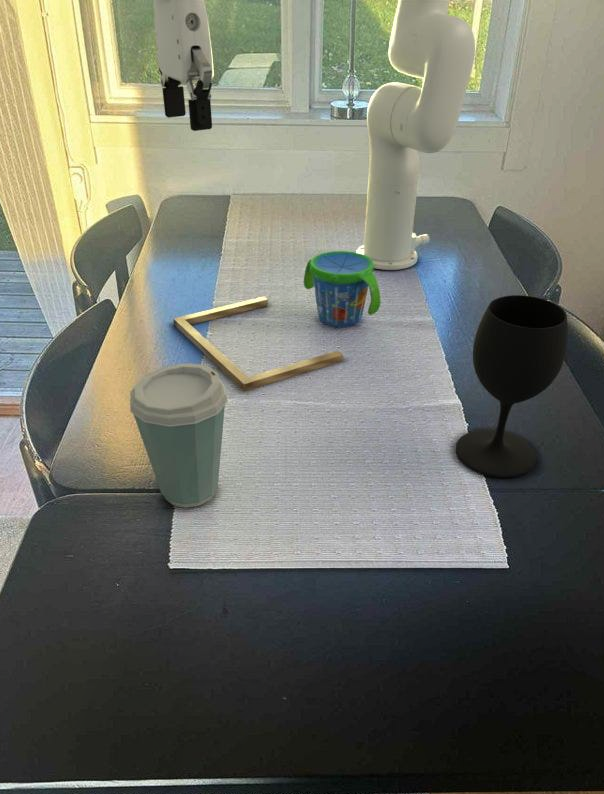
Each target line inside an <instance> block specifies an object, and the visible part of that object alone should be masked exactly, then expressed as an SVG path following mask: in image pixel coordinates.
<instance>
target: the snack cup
mask: <svg viewBox="0 0 604 794" xmlns="http://www.w3.org/2000/svg"><path fill="white" fill-rule="evenodd" d="M374 269H375V268H374V262H373V261H372V259H370V258H369V257H368V256H366V255H363V254H360V253H356V251H347V250H345V251H344V250H334V251H326V252H322V253H319V254H316V255H315V256H313V257H312V258H310V259H309V260H308V261H307V264H306V267H305V270H304V276H303V286H304V288H305V289H307V290H311V289H313V288H314V296H315V302H316V310H317V315H318V316H317V317H318V319H319V321H320V322H322V323H323V324H325V325H327V326H332V327H335V328H340V327H341V328H343V327H351V326H355V325H357V324H358V323H359V322H360V320H362V318H363V313H364V309H365V304H366V299H367V296H368V291H369V294H370V303H369V305H368V309H367V314H368V315H369V316H372V315H374V314H376V313H377V312H378V311H379V309H380V308H381V293H380V287H379V283H378V280H377V278H376V275H375V274H374Z"/></svg>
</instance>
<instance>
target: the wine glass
mask: <svg viewBox="0 0 604 794" xmlns="http://www.w3.org/2000/svg"><path fill="white" fill-rule="evenodd" d="M568 326H569V325H568V315H567V312H566V311H565V309H563V307H561V306H560V305H558V304H556V303H554V302H553V301H550V300H548V299H544V298H541V297H536V296H531V295H521V294H513V295H504V296H501V297H497V298H494V299H493V300H491V301H490V302H489V304H488V306H487V308H486V309H485V311H484V313H483V315H482V318H481V319H480V322H479V324H478V326H477V330H476V333H475V336H474V341H473V346H472V363H473V364H472V365H473V368H474V373H475V375H476V377H477V379H478V381H479V382H480V384H481V385H482V387H483V388H484V389H485V390H486V391H487V393H488V394H490V395H491V397H493V398H494V399H496V400H497V401H499V405H500V406H499V415H498V421H497V426H496V429H489V428H486V429H485V428H484V429H476V430H472V431H469V432H467V433H465V434H463V435H462V436H461V437H459V439H458V440H457V442H456V443H455V449H454V450H455V455H456V457H457V459H458V460H459V462H460V463H461V464H462V465H463V466H465V467H466V468H467V469H469V470H471V471H472V472H475V473H476V474H478V475H482V476H486V477H489V478H494V479H513V478H518V477H521V476H524V475H526V474H528V473H530V472H531V471H532V470H533V469H534V466H535V464H536V461H537V456H536V452H535V450H534V449H533V447H532V446H531V445H530V443H528V442H527V441H526V440H524V439H523V438H521V437H519V436H518V435H516V434H513V433H511V432H508V431H505V430H506V425H507V422H508V418H509V416H510V415H509V414H510V412H511V409H512V407H513V406H514V404H515V405H516V404H519V403H522V402H525V401H528V400H530V399H532V398H535V397H537V396H539V395H540V394H542V393H543V392H544V391H545V390H546V389H548V388H549V387H550V386H551V385H552V384H553V382H554V381H555V380H556V378H557V377H558V375H559V374H560V371H561V369H562V367H563V365H564V361H565V357H566V354H567V350H568V349H567V348H568V342H569V341H568V339H569V327H568Z"/></svg>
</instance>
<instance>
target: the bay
mask: <svg viewBox="0 0 604 794" xmlns="http://www.w3.org/2000/svg"><path fill="white" fill-rule="evenodd" d="M268 305H269V302H268V298H267V297H265V296H259V297H256V298H251V299H247V300H244V301H238V302H235V303H231V304H227V305H223V306H219V307H215V308H210V309H206V310H202V311H198V312H194V313H189V314H186V315H182V316H177V317H173V318H172V320H173V321H172V322H173V326H174V327H175V328H177V329H178V330H179V331H180V332H181V333H182V334H183V335H184V336H185V337H186V338H187V339H188V340H189V341H190V342H191V343H193V345H194V346H196V347H197V348H198V349H199V350H200V352H202V353H203V354H204V355H205V356H206V357H208V359H209V360H210V361H211V362H213V364H215V365H216V366H217V367H218V368H219V369H220V370H221V371H222V372H223V373H224V374H226V376H227V377H228V378H229V379H231V380H232V381H233V382H234V383H235V384H236V385H237V386H238V387H239V388H240V389H241V390H242V391H243V392H246V391H250V390H252V389H253V390H254V389H256V388H259V387H263V386H266V385H269V384H273V383H276V382H279V381H282V380H286V379H288V378H292V377H295V376H298V375H302V374H305V373H308V372H312V371H315V370H318V369H322V368H324V367H328V366H331V365H334V364H338V363H341V362H344V361H343V360H344V354H343V353H342V352H340V351H339V350H335V351H331V352H327V353H326V354H321V355H318V356H314V357H311V358H308V359H305V360H301V361H298V362H294V363H292V364H287V365H284V366H281V367H278V368H277V367H276V368H275V369H271V370H267V371H263V372H261V373H257V374H254V375H251V376H247V375H246V374H245V373H244V372H243V371H242V370H241V369H240V368H239V367H238V366H236V365H235V364H234V363H233V362H232V361H231V360H230V359H229V358H228V357H226V356H225V355H224V354H223V353H222V352H221V351H220V350H219V349H218V348H217V347H216V346H215V345H213V343H211V342H210V341H209V340H208V339H207V338H205V336H203V334H201V333H200V332H199V331H198V330H197V329H195V327H194V326H192V325H196V324H200V323H204V322H208V321H212V320H215V319H220V318H223V317H227V316H228V317H229V316H231V315H235V314H241V313H244V312H249V311H252V310H255V309H260V308H263V307H267V306H268Z"/></svg>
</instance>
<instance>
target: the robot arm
mask: <svg viewBox="0 0 604 794" xmlns="http://www.w3.org/2000/svg"><path fill="white" fill-rule="evenodd" d="M450 2H451V0H398V1H397V6H396V10H395V13H394V14H395V15H394V19H393V24H392V29H391V34H390V38H389V45H388V59H389V62H390V65H391V66H392V68H393V69H394V70H396V71H397V72H398V73H401V74H404V75H407V76H410V77H414V78H419V79H423V81H422V85H421V86H416V85H413V84H409V83H403V82H388V83H386V84H382V85H381V86H380V87H378V88H377V89H376V90H375V92H373V94H372V96H371V97H370V99H369V102H368V105H367V110H366V125H367V134H368V143H369V145H368V146H369V159H368V160H369V161H368V162H369V163H368V164H369V165H368V179H367V192H366V193H367V194H366V207H365V220H364V221H365V224H364V237H363V238H364V239H363V245H361V246H359V247H357V249H356V251H355V253H360V254H363V255H366V256H368V257H369V258H370V259H372V261H373V262H374V269H375V270H376V269H377V270H385V271H396V270H398V271H399V270H403V269H404V270H405V269H408V268H410V267H412V266H414V265H415V264H417V262H418V259H419V258H418V257H419V256H418V255H419V254H418V252H417V251H416V249H417V248H418V247H419V246H423V245H427V244H429V243H430V241H431V239H430V236H429V234H428V233H425V234H420V235H418V236H417V233H415V232H413V231H414V223H415V214H416V213H415V212H416V203H417V196H418V186H419V178H420V158H419V152H421V153H425V154H435V153H437V152H440V151H442V150H443V149H445V148H446V146H447V145H448V144H449V143H450V142H451V139H452V138H453V136H454V133H455V131H456V129H457V125H458V123H459V119H460V116H461V112H462V108H463V104H464V100H465V97H466V94H467V90H468V86H469V81H470V79H471V75H472V71H473V66H474V62H475V58H476V57H475V56H476V40H475V36H474V32H473V29H472V27H471V26H470V24H469V23H468V22H467V21H466V20H465V19H463V18H461V17H459V16H455V15H449V14H448V12H449V6H450ZM153 18H154V19H153V20H154V21H153V23H154V34H155V46H156V56H157V57H156V58H157V62H158V72H159V73H160V76H161V77H160V84H161V85H160V86H161V87H162V88H161V90H162V98H163V99H162V100H163V107H164V108H163V109H164V116H165V117H166V118H168V119H169V118H178V117H185V116H186V113H187V112H186V102H185V90H184V86H182V85H181V84H182V83H184V84H185V85H186V89H187V92H188V94H189V97H190V99H187V102H188V114H189V126H190V130H191V131H192V132H198V131H206V130H211V129H212V128H213V120H212V119H213V117H212V104H211V99H212V92H211V90H212V86H213V83H212V80H213V78H214V75H215V74H214V73H215V71H214V61H213V49H212V41H211V32H210V25H209V18H208V13H207V8H206V4H205V0H153Z"/></svg>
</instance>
